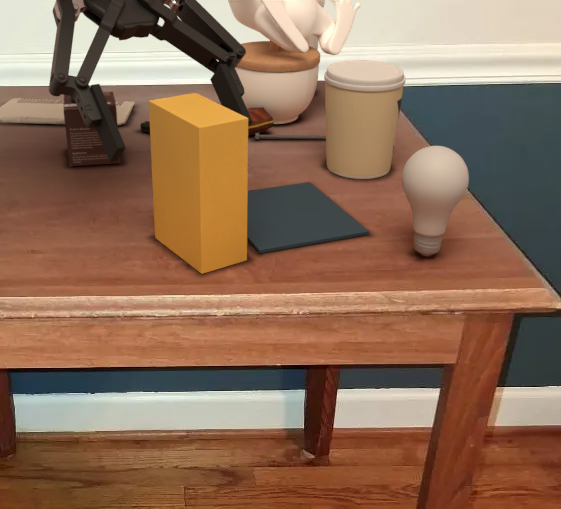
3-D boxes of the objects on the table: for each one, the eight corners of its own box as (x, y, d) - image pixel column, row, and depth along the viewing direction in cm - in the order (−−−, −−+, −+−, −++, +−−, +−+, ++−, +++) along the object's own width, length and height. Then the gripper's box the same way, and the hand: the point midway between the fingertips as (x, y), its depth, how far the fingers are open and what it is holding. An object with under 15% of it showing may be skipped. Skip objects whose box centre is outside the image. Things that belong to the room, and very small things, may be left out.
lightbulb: (465, 250, 83) (480, 144, 78) (446, 275, 78) (461, 164, 73) (406, 236, 85) (418, 132, 80) (385, 260, 81) (395, 151, 76)
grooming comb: (10, 96, 122) (11, 101, 122) (-14, 118, 113) (-13, 123, 113) (137, 99, 121) (137, 104, 122) (122, 122, 112) (122, 127, 113)
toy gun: (277, 133, 112) (235, 156, 105) (186, 120, 120) (141, 140, 112) (276, 107, 111) (233, 129, 103) (184, 96, 118) (138, 115, 110)
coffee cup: (412, 175, 100) (422, 75, 95) (344, 186, 97) (350, 83, 91) (370, 150, 108) (378, 56, 102) (306, 160, 104) (310, 63, 99)
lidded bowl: (269, 97, 126) (270, 23, 121) (335, 116, 119) (340, 38, 114) (208, 115, 118) (207, 36, 113) (276, 137, 111) (278, 53, 106)
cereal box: (201, 274, 77) (198, 127, 71) (154, 237, 84) (148, 100, 77) (247, 260, 80) (248, 118, 73) (198, 226, 86) (195, 92, 80)
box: (118, 147, 106) (114, 90, 103) (120, 165, 101) (116, 105, 98) (68, 150, 105) (63, 92, 102) (68, 167, 100) (62, 107, 96)
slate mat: (259, 253, 81) (259, 250, 81) (210, 199, 92) (210, 196, 92) (368, 234, 86) (369, 231, 85) (309, 185, 97) (309, 181, 97)
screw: (255, 131, 110) (254, 138, 111) (255, 133, 109) (255, 141, 110) (330, 133, 111) (330, 140, 112) (332, 135, 110) (331, 142, 111)
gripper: (197, -33, 93) (274, 136, 89) (-31, -14, 79) (48, 185, 76) (223, -79, 87) (307, 100, 83) (-19, -67, 73) (67, 147, 69)
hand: (183, 141), depth 79 cm, fingers open, 13 cm apart
